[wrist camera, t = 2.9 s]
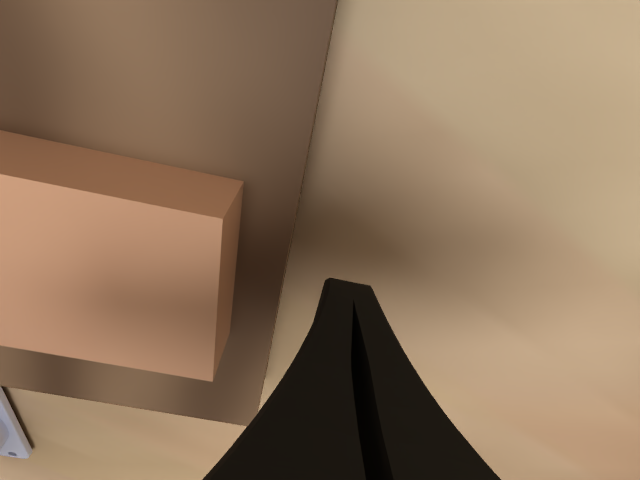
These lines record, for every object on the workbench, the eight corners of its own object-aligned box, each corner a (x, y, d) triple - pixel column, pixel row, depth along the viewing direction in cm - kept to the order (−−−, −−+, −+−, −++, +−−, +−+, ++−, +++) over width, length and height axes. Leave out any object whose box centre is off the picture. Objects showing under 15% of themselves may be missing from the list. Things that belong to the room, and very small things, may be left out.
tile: (27, 295, 12) (-22, 341, 11) (-32, 123, 9) (-116, 150, 7) (229, 332, 13) (212, 381, 11) (243, 181, 9) (222, 219, 8)
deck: (-64, 321, 17) (-121, 365, 15) (-510, -465, 6) (-937, -700, 4) (264, 379, 18) (254, 427, 16) (378, -207, 7) (392, -293, 5)
